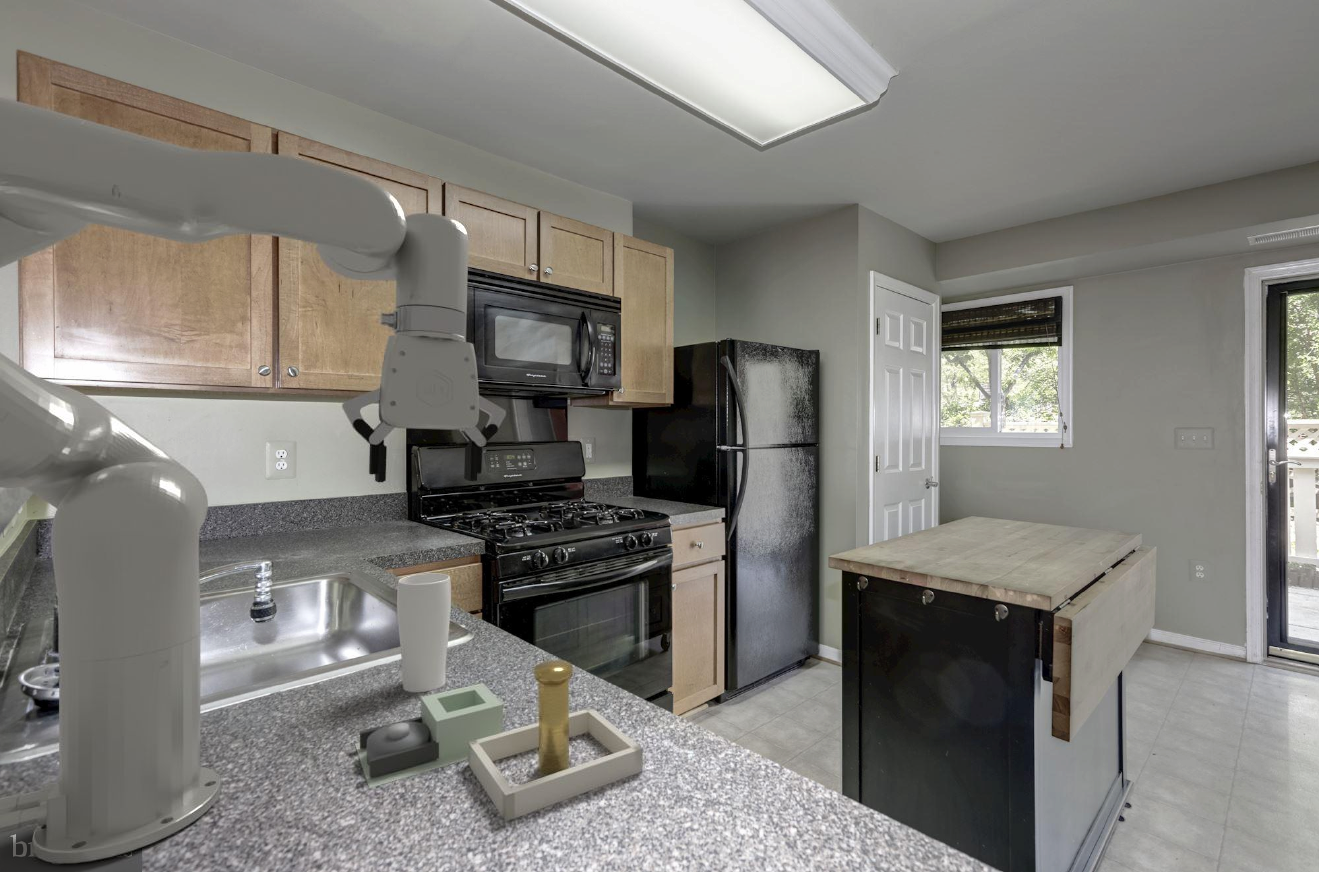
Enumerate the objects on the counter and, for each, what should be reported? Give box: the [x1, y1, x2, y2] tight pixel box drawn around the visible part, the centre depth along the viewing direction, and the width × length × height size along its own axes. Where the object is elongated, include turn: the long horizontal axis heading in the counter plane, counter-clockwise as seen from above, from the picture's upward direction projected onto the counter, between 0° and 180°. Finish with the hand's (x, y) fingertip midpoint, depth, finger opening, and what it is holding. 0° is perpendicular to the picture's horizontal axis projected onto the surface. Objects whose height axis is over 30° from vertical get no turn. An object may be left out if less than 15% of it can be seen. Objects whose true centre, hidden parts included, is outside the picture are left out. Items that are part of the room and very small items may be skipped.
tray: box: [467, 707, 644, 822], centre depth 60 cm, size 14×11×3 cm
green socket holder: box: [354, 682, 504, 789], centre depth 65 cm, size 14×10×5 cm
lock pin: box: [533, 660, 574, 776], centre depth 60 cm, size 4×4×10 cm
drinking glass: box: [396, 572, 452, 693], centre depth 81 cm, size 7×7×15 cm
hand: (427, 481), depth 68 cm, fingers open, 9 cm apart
